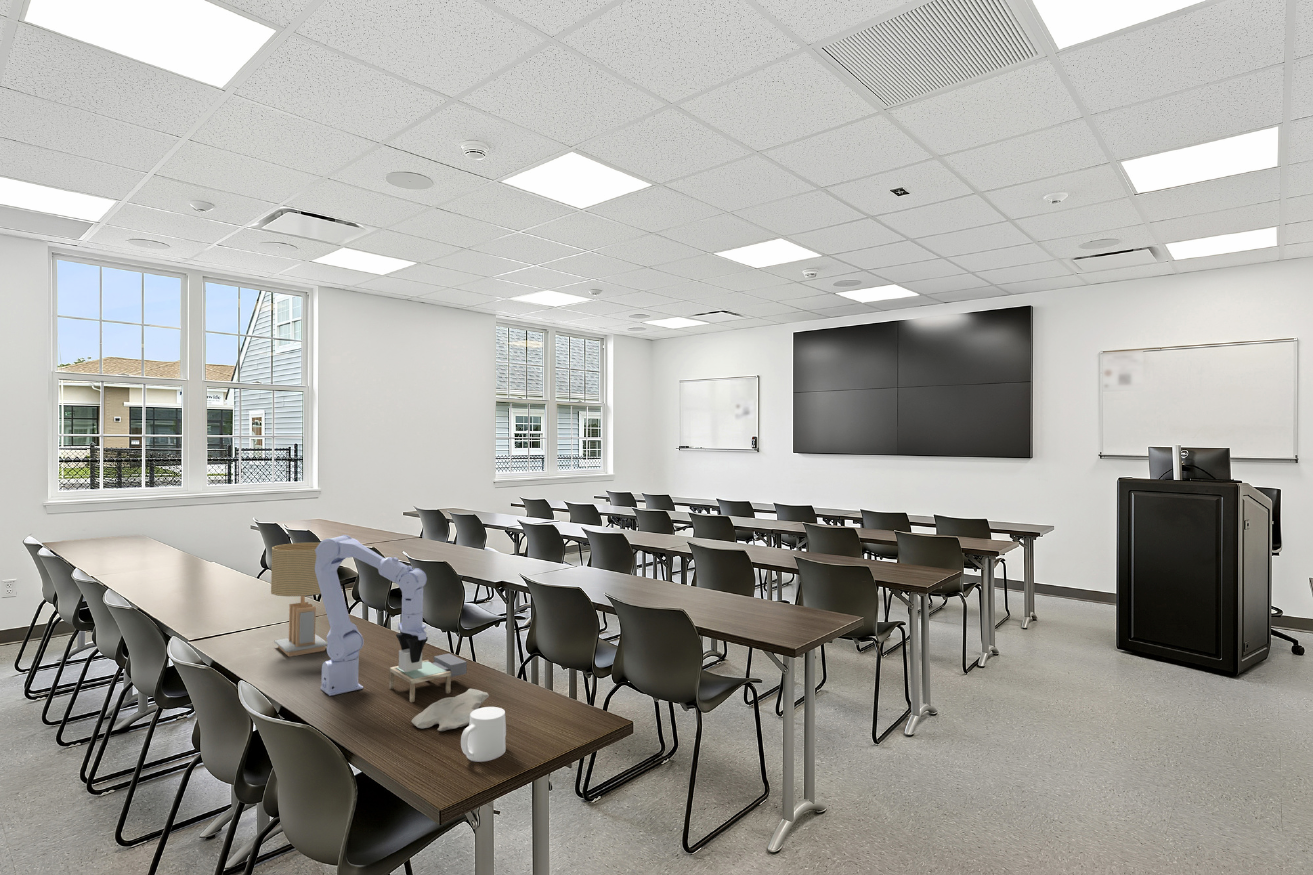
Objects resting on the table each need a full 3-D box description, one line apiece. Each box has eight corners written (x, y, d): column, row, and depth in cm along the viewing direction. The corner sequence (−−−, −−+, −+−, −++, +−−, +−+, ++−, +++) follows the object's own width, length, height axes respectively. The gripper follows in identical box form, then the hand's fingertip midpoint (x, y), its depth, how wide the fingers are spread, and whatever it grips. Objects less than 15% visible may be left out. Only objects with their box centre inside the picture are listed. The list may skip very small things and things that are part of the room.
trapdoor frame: (427, 679, 213) (427, 659, 213) (450, 692, 203) (450, 671, 203) (389, 688, 205) (389, 667, 205) (411, 702, 195) (411, 680, 195)
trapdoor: (448, 664, 217) (448, 652, 217) (467, 673, 208) (467, 662, 208) (396, 675, 205) (396, 663, 205) (414, 686, 197) (414, 673, 197)
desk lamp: (262, 647, 243) (265, 545, 243) (322, 638, 256) (325, 541, 256) (277, 661, 228) (280, 552, 229) (340, 650, 241) (342, 547, 242)
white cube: (405, 672, 199) (406, 654, 199) (398, 667, 202) (398, 650, 202) (421, 668, 202) (422, 651, 202) (414, 664, 205) (415, 647, 205)
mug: (491, 703, 170) (514, 710, 166) (490, 741, 170) (513, 750, 166) (451, 718, 160) (475, 726, 156) (450, 759, 160) (474, 769, 156)
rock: (508, 718, 186) (477, 697, 196) (509, 701, 186) (477, 682, 196) (435, 748, 170) (405, 725, 180) (435, 730, 170) (405, 707, 180)
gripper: (436, 614, 200) (435, 662, 200) (414, 605, 210) (413, 651, 210) (412, 618, 195) (411, 667, 195) (391, 609, 205) (390, 655, 205)
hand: (411, 659), depth 202 cm, fingers closed on white cube, 5 cm apart
